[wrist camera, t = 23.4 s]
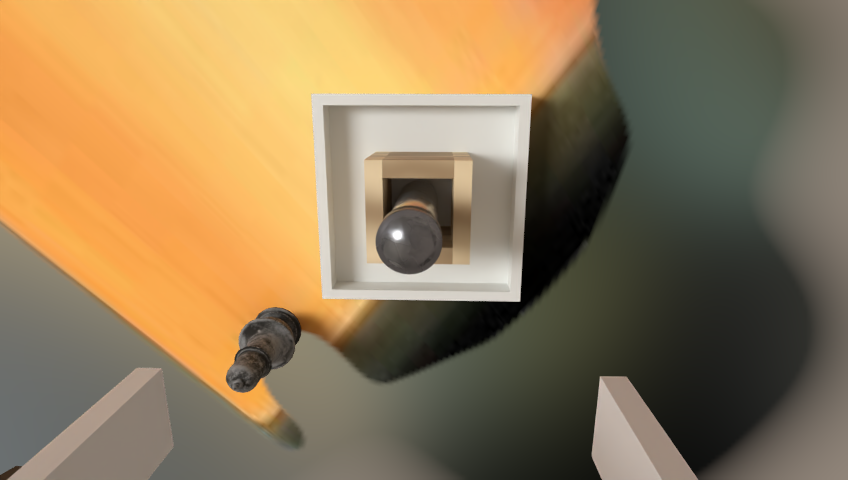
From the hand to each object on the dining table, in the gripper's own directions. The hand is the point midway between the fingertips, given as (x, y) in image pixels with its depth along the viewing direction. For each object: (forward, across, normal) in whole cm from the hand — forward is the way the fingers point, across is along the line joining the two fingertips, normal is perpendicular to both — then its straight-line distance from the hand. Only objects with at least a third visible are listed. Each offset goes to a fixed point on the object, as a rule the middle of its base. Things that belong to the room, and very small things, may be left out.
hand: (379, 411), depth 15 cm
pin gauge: (+36, 0, 0) cm, 36 cm away
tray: (+37, 0, 0) cm, 37 cm away
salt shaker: (+37, -16, -15) cm, 43 cm away
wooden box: (+36, 0, 0) cm, 36 cm away
